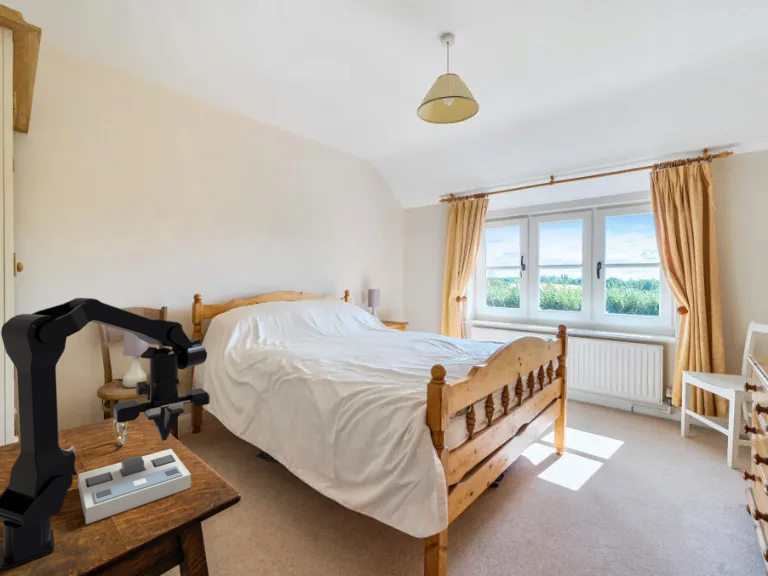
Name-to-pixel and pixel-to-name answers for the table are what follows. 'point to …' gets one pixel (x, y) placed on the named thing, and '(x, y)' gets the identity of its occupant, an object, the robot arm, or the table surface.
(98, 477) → the button left
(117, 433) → the ring
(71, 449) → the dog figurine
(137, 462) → the button middle
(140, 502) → the button board
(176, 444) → the table surface
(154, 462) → the button right
